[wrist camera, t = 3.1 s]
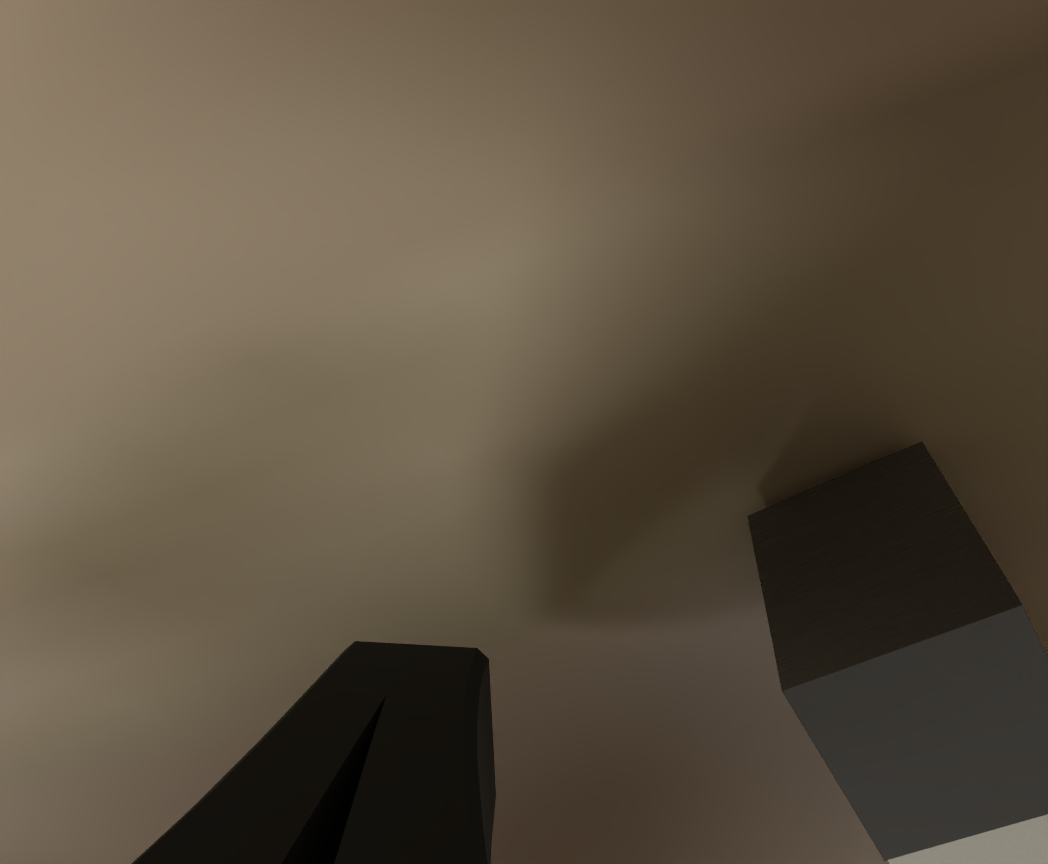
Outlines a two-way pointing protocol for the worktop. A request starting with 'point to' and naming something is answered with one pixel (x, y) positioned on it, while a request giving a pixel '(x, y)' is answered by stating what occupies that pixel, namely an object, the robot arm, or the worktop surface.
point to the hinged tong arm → (910, 663)
